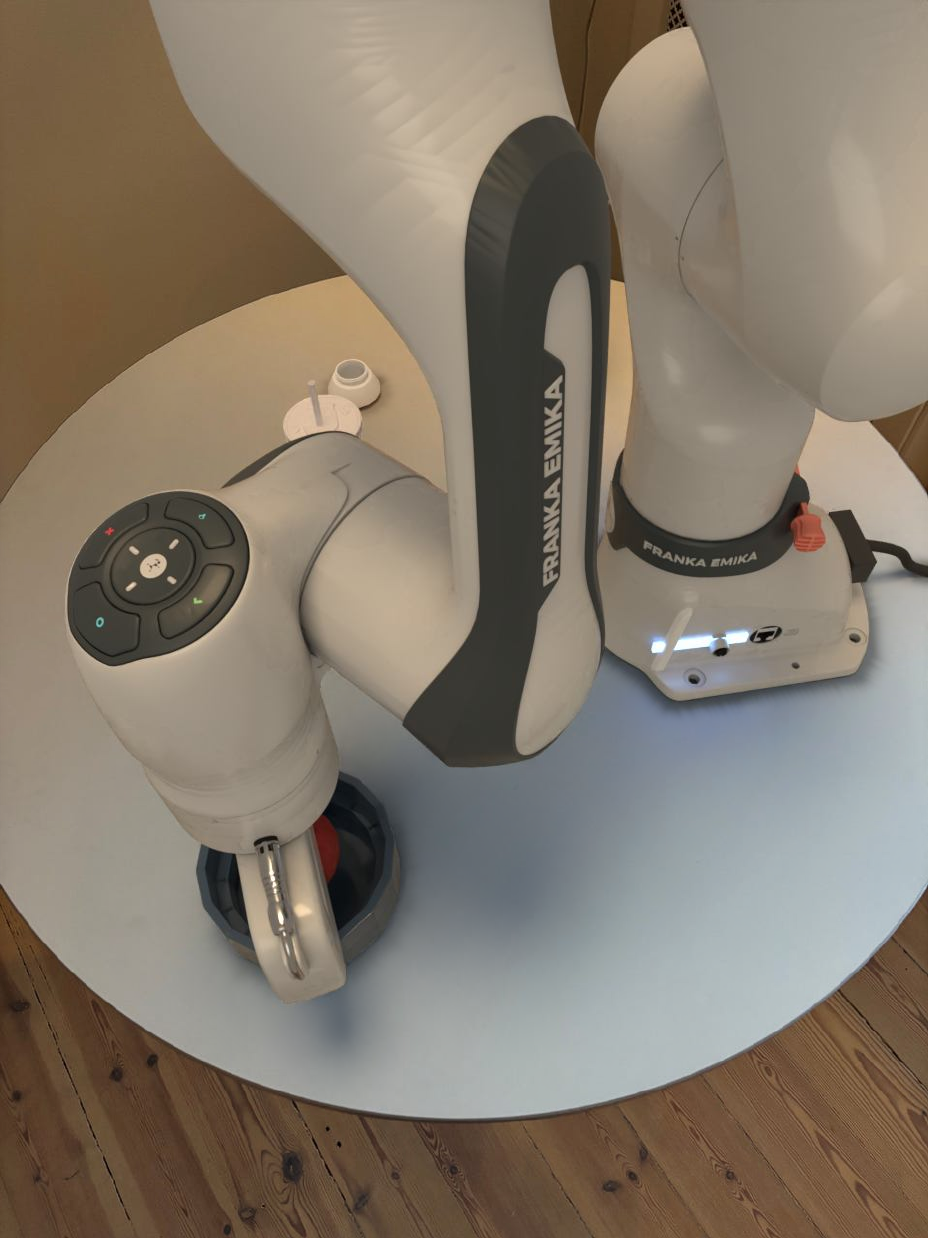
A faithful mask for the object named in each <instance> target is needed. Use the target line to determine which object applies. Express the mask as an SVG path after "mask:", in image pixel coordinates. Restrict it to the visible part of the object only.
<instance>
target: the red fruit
mask: <svg viewBox="0 0 928 1238" xmlns="http://www.w3.org/2000/svg"><path fill="white" fill-rule="evenodd" d="M313 829H314V833H315V837H316V841H317V846H318V850H319V854H320V858H321V863H322V867H323V871H324V876H325V880H326V884H328V883H329V881H330V880H331V879H332V877H333V876H334V874H335V872H336V868H337V865H338V861H339V858H340V848H339V839H338V834H337V832H336V831H335V829H334V827H333V826H332V824H331V823H330V821H329V820H328V819H327V818H326V817H325V816H324V815H322V814H321V815H320V817H319V818H318V819H317V820H316V821H315V822H314V823H313Z"/></svg>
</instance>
